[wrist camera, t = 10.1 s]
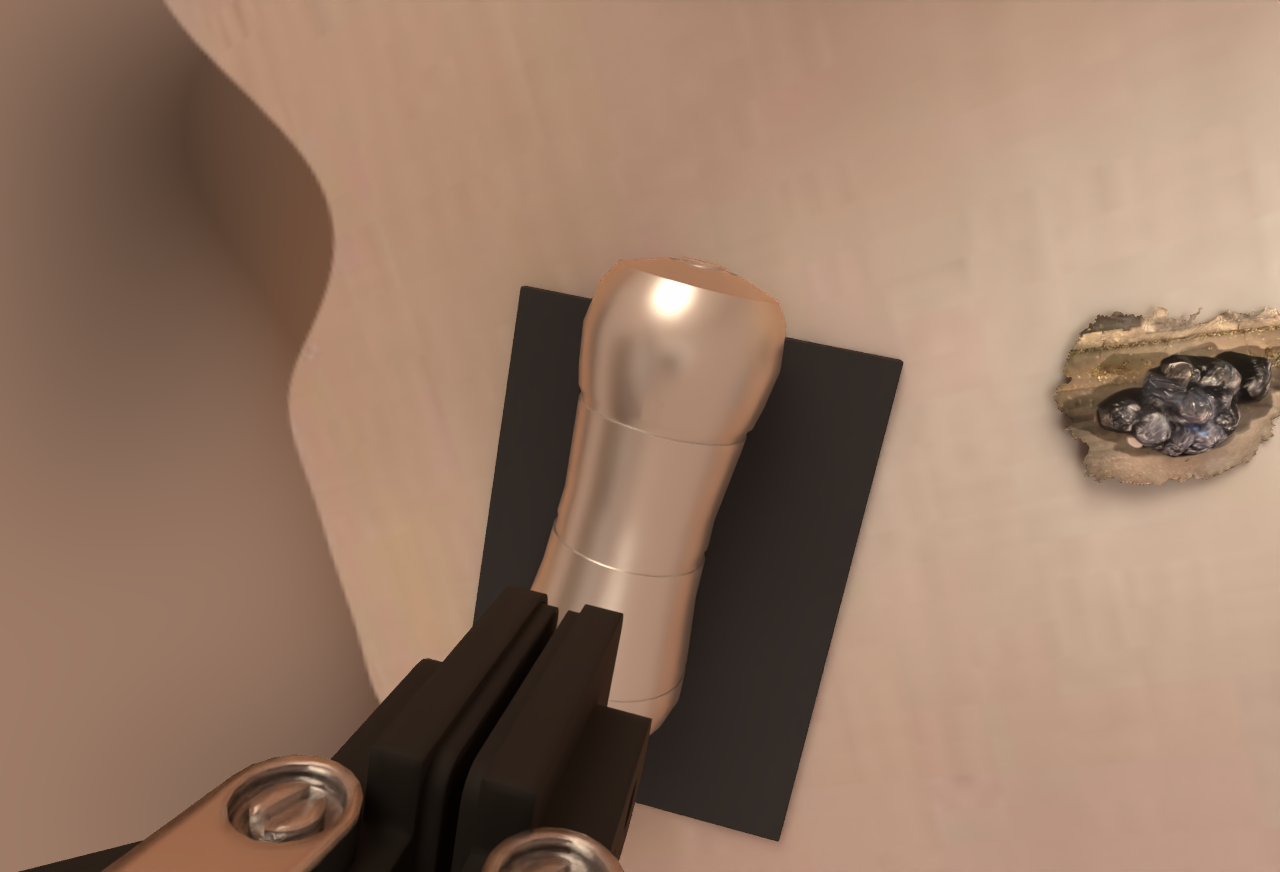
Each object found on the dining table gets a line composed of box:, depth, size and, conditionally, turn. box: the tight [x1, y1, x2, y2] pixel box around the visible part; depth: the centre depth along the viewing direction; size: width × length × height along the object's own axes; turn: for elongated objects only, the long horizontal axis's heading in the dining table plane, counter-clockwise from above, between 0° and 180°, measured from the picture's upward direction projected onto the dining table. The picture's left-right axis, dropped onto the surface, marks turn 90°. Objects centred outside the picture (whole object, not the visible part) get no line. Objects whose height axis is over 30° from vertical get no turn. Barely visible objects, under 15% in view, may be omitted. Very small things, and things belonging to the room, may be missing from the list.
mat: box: [473, 286, 903, 841], centre depth 32 cm, size 20×14×1 cm
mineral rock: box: [1053, 306, 1280, 486], centre depth 27 cm, size 7×8×2 cm
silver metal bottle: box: [531, 257, 786, 735], centre depth 28 cm, size 6×7×20 cm
